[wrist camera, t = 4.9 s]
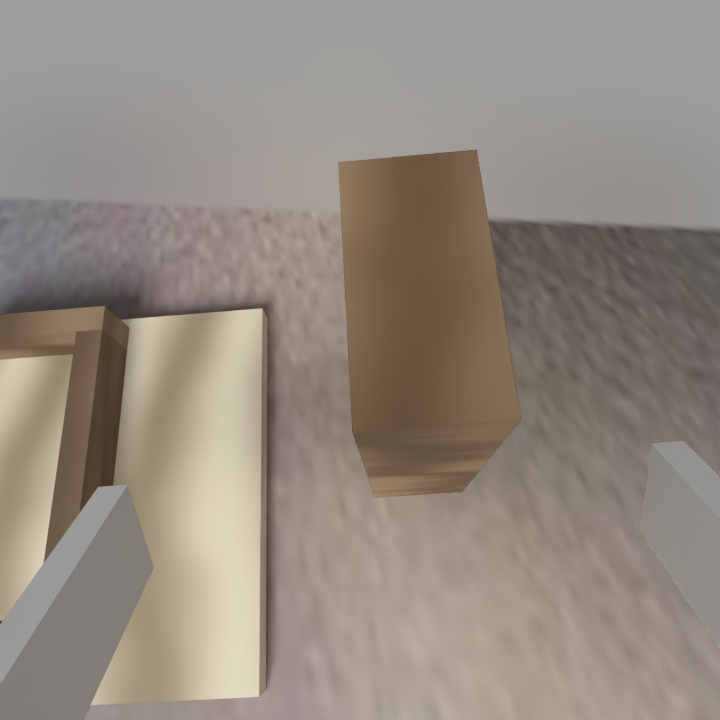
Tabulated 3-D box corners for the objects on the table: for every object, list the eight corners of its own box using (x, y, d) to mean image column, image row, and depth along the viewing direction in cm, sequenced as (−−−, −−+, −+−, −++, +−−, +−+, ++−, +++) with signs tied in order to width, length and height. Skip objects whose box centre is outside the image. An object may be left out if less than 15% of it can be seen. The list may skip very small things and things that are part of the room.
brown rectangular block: (442, 331, 28) (476, 149, 16) (462, 491, 25) (521, 419, 13) (364, 337, 28) (338, 162, 16) (374, 497, 25) (352, 431, 13)
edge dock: (267, 318, 29) (249, 284, 25) (266, 690, 23) (242, 712, 19) (-135, 350, 30) (-205, 321, 26) (-240, 716, 24) (-349, 741, 20)
